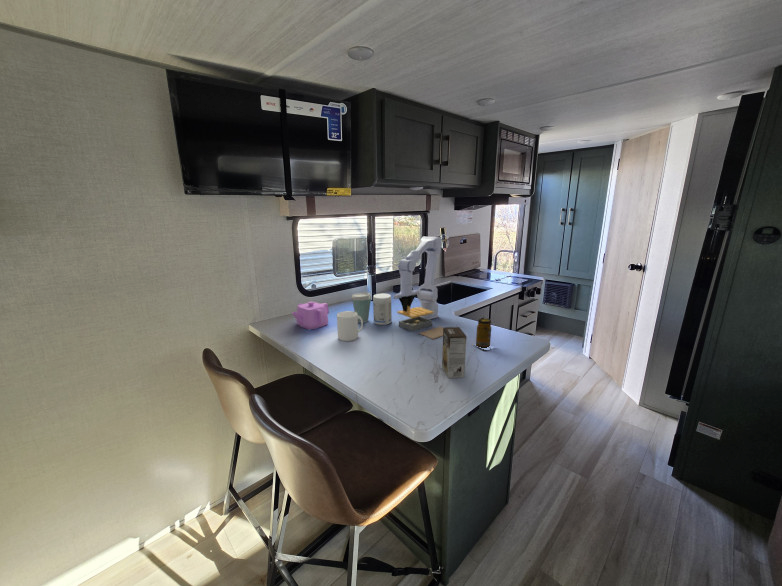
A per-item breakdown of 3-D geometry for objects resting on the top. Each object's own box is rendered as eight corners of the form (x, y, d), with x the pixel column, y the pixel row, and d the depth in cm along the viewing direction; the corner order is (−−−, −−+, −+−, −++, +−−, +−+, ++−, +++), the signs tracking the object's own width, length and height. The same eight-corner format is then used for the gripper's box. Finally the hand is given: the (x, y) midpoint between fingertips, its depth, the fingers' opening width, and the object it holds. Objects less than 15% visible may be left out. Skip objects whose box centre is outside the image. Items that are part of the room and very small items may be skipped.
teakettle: (325, 330, 165) (324, 306, 162) (291, 330, 165) (289, 307, 162) (331, 319, 182) (329, 297, 179) (300, 319, 181) (298, 297, 178)
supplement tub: (384, 318, 182) (384, 292, 178) (395, 322, 175) (395, 296, 171) (369, 321, 176) (369, 295, 172) (380, 326, 169) (380, 299, 165)
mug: (334, 337, 156) (332, 313, 153) (355, 331, 163) (354, 308, 160) (345, 343, 149) (344, 319, 146) (366, 336, 156) (366, 313, 153)
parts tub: (418, 320, 178) (419, 315, 177) (432, 325, 170) (432, 320, 170) (398, 326, 170) (398, 321, 169) (411, 331, 162) (411, 326, 161)
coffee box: (441, 366, 127) (442, 326, 123) (457, 365, 127) (459, 326, 123) (447, 378, 118) (448, 336, 114) (464, 377, 118) (467, 335, 114)
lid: (419, 309, 177) (419, 299, 176) (433, 314, 169) (434, 304, 167) (397, 314, 168) (397, 303, 167) (411, 319, 160) (411, 308, 158)
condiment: (483, 341, 150) (485, 316, 147) (497, 348, 142) (499, 322, 139) (471, 344, 147) (472, 318, 144) (484, 351, 139) (485, 325, 136)
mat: (439, 327, 167) (439, 326, 167) (453, 332, 160) (453, 331, 160) (419, 333, 159) (419, 332, 159) (432, 339, 152) (432, 338, 152)
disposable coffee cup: (350, 323, 174) (349, 296, 170) (354, 317, 184) (353, 291, 180) (370, 324, 172) (369, 296, 169) (373, 317, 183) (372, 291, 179)
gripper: (412, 280, 168) (412, 306, 171) (389, 284, 159) (389, 311, 163) (421, 282, 162) (421, 309, 166) (398, 287, 154) (398, 315, 157)
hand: (406, 310), depth 164 cm, fingers closed on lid
